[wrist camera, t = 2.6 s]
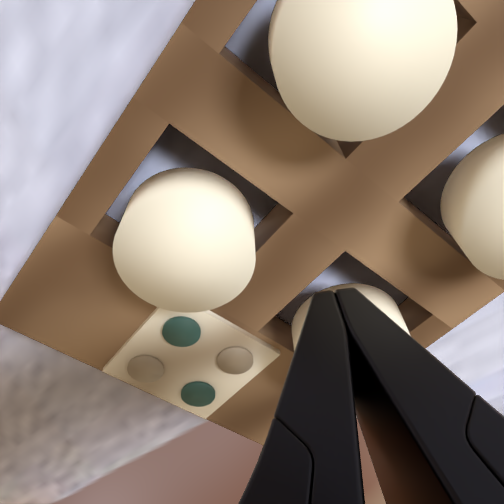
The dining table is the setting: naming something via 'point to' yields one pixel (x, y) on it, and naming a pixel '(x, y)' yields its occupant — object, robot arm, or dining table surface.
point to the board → (267, 231)
